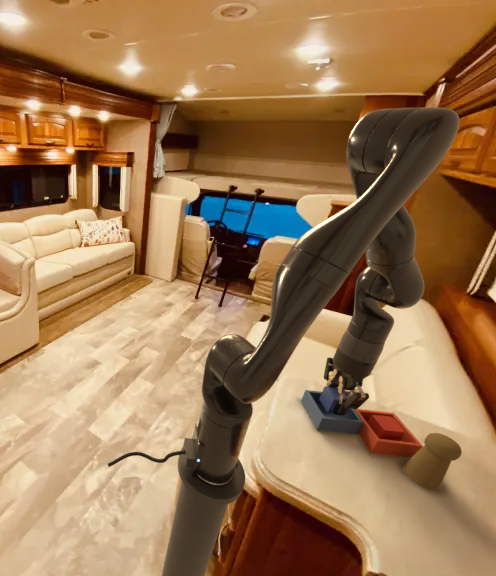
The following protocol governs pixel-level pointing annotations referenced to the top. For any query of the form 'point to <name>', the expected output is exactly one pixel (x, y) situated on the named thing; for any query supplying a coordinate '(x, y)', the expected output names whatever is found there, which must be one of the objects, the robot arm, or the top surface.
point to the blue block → (330, 398)
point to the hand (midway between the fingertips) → (332, 405)
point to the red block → (386, 427)
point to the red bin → (382, 446)
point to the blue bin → (330, 416)
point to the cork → (432, 461)
